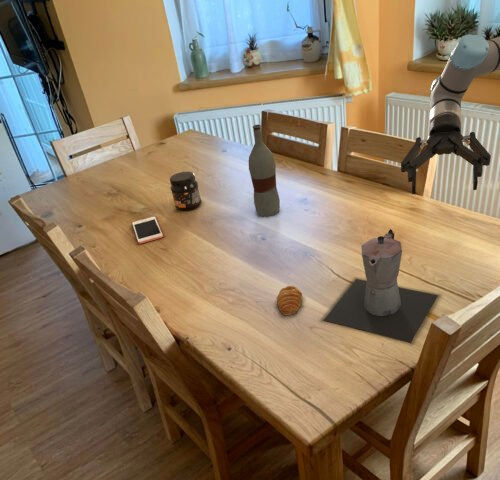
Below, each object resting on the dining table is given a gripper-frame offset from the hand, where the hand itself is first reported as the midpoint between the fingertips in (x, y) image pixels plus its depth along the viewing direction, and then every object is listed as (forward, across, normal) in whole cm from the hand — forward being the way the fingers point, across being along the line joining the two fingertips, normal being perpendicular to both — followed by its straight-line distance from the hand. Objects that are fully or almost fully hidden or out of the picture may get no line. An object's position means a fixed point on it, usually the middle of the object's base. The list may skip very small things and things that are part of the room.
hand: (443, 188), depth 117 cm
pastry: (+24, +37, -15) cm, 46 cm away
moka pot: (+23, +14, -16) cm, 31 cm away
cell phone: (-15, +100, -28) cm, 105 cm away
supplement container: (-34, +92, -37) cm, 104 cm away
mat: (+24, +14, -16) cm, 32 cm away
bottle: (-28, +58, -36) cm, 73 cm away
